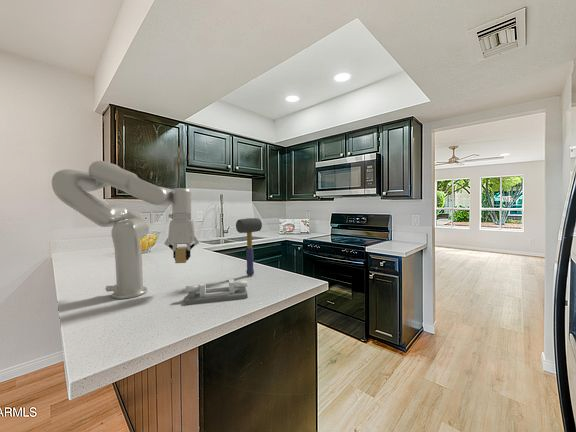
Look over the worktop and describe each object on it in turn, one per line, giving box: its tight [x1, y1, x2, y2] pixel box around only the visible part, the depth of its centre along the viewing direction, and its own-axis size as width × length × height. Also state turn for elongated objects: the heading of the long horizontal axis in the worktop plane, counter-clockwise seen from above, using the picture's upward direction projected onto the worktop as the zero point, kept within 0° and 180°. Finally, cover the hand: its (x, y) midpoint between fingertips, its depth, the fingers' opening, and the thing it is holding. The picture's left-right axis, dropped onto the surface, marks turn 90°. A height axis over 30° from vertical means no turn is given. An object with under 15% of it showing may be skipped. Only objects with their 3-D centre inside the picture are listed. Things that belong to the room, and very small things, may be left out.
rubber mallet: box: [235, 217, 263, 277], centre depth 132 cm, size 12×8×30 cm, turn 131°
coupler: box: [174, 245, 189, 264], centre depth 110 cm, size 8×4×6 cm, turn 14°
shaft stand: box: [184, 278, 249, 305], centre depth 103 cm, size 24×10×6 cm, turn 104°
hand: (182, 259), depth 110 cm, fingers closed on coupler, 4 cm apart
